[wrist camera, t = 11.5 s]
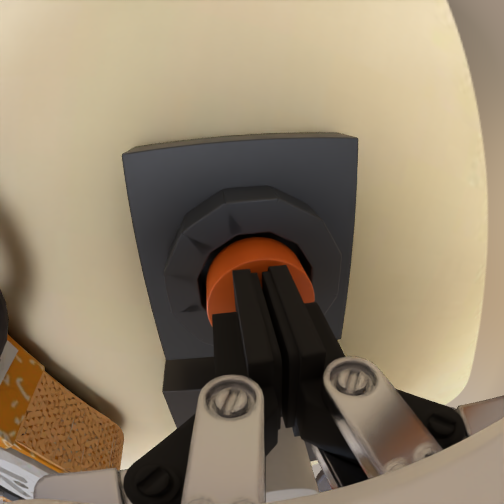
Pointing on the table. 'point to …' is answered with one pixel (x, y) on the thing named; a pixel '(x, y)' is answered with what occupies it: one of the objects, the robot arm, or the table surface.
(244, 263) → the power button
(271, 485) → the timer dial
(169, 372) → the timer panel
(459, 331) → the table surface
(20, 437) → the device
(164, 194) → the button block
